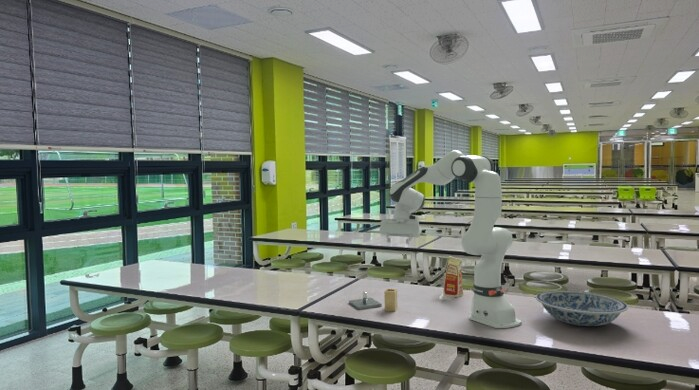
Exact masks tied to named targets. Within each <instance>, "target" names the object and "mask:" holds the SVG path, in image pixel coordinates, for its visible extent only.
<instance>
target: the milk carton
mask: <svg viewBox="0 0 699 390" xmlns="http://www.w3.org/2000/svg"><path fill="white" fill-rule="evenodd" d="M463 260H464V259H463V258H456V257H454V256H451V255H448V261H447V266H446V269H445V275H444V280H443V281H444V282H443V288H442V289H443V293H442V294H443V295H442V297H443V296H445V297H451V298H452V297H454V298H459V297H463V296H464V291H463V271H462V262H463Z"/></svg>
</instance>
